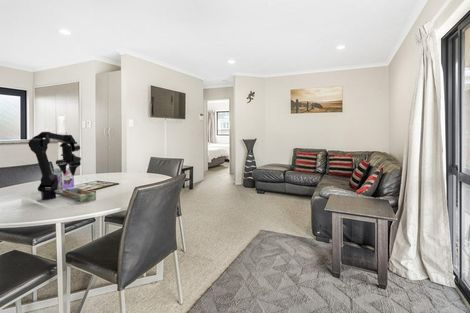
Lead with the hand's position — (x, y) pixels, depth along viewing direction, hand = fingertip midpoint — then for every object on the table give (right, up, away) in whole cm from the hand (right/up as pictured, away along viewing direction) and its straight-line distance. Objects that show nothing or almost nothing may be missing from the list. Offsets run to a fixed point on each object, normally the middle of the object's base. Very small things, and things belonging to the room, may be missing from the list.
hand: (69, 174), depth 177 cm
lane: (+16, -14, -10) cm, 24 cm away
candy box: (-11, -12, +13) cm, 21 cm away
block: (+7, -12, -7) cm, 16 cm away
